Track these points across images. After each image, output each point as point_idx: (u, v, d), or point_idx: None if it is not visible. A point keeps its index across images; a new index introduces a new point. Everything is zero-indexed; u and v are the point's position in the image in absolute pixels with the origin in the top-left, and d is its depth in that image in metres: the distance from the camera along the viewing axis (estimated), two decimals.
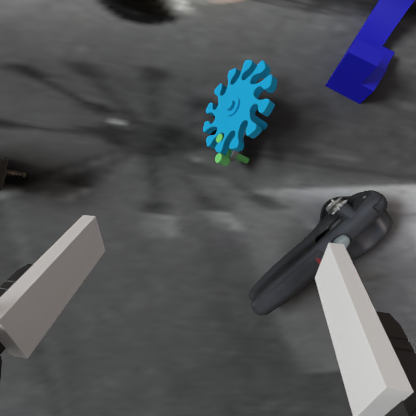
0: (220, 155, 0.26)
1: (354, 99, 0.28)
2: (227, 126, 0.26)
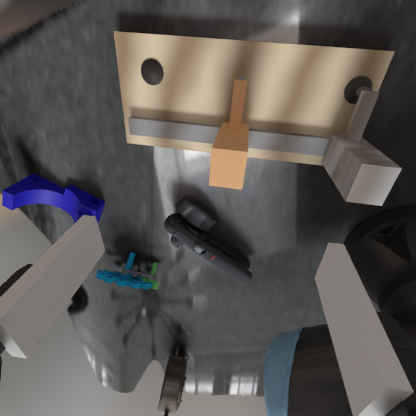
0: (152, 288, 0.44)
1: (103, 206, 0.40)
2: None
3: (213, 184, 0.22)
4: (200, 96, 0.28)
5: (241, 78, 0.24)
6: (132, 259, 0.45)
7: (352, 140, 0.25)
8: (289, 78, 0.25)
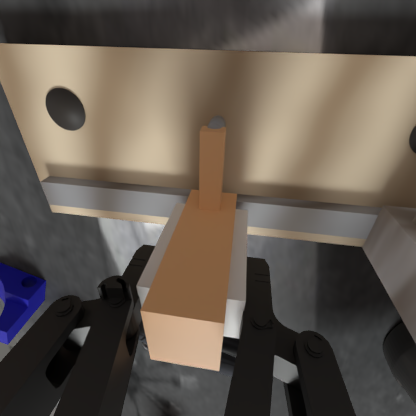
0: None
1: (44, 285, 0.30)
2: None
3: (160, 359, 0.10)
4: (152, 146, 0.16)
5: (214, 125, 0.12)
6: None
7: None
8: (306, 115, 0.14)
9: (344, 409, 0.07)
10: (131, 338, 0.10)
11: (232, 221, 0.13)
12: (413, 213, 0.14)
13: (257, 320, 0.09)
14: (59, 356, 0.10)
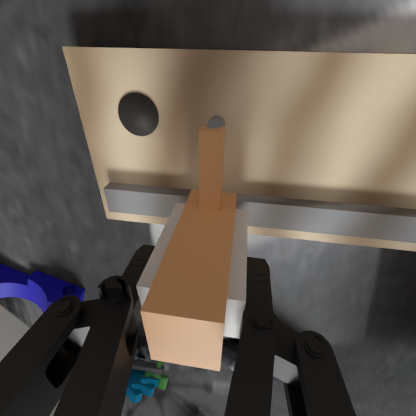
0: (159, 387, 0.32)
1: (83, 294, 0.29)
2: None
3: (161, 360, 0.10)
4: (225, 152, 0.16)
5: (214, 125, 0.12)
6: None
7: None
8: (400, 119, 0.13)
9: (344, 409, 0.07)
10: (131, 338, 0.10)
11: (232, 221, 0.13)
12: None
13: (257, 320, 0.09)
14: (59, 356, 0.10)
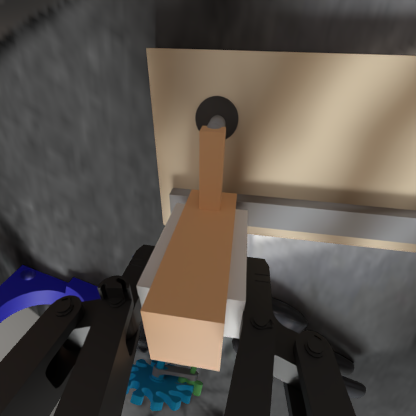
0: (194, 394, 0.32)
1: None
2: None
3: (160, 359, 0.10)
4: (304, 158, 0.15)
5: (214, 125, 0.12)
6: None
7: None
8: None
9: (344, 409, 0.07)
10: (131, 338, 0.10)
11: (232, 221, 0.13)
12: None
13: (257, 320, 0.09)
14: (60, 356, 0.10)
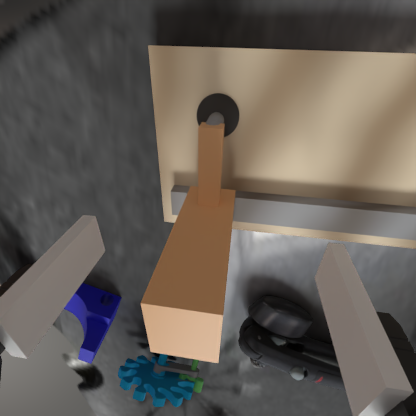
0: (195, 390, 0.32)
1: (119, 302, 0.30)
2: None
3: (160, 352, 0.11)
4: (304, 155, 0.15)
5: (213, 121, 0.12)
6: None
7: None
8: None
9: None
10: None
11: (231, 217, 0.13)
12: None
13: None
14: None
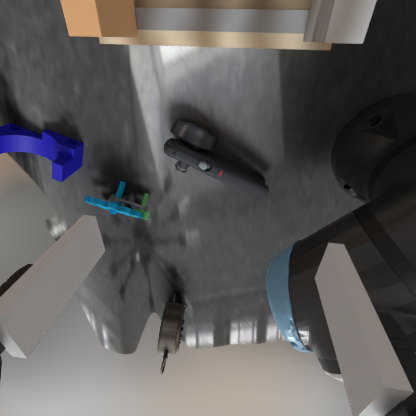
0: (143, 218, 0.43)
1: (82, 148, 0.41)
2: (125, 213, 0.43)
3: (73, 34, 0.21)
4: None
5: None
6: (122, 188, 0.43)
7: None
8: None
9: None
10: None
11: None
12: None
13: None
14: None
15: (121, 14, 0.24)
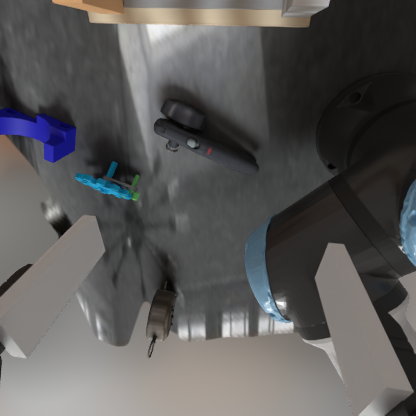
0: (132, 198, 0.44)
1: (74, 132, 0.43)
2: (115, 193, 0.44)
3: (56, 1, 0.23)
4: None
5: None
6: (113, 168, 0.44)
7: None
8: None
9: None
10: None
11: None
12: None
13: None
14: None
15: None
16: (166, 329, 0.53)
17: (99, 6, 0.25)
